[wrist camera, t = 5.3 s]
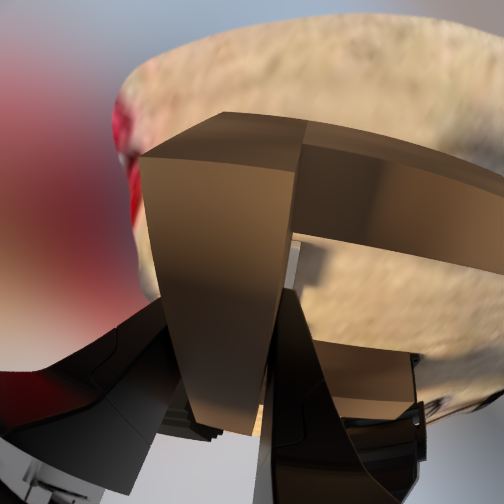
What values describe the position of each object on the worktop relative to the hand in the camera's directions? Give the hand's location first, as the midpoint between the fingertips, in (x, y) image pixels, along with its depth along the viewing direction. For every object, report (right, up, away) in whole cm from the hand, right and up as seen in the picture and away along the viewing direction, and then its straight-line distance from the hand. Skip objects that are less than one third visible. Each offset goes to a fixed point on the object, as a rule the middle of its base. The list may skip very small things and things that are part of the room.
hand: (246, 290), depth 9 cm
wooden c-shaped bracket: (+3, 0, 0) cm, 3 cm away
